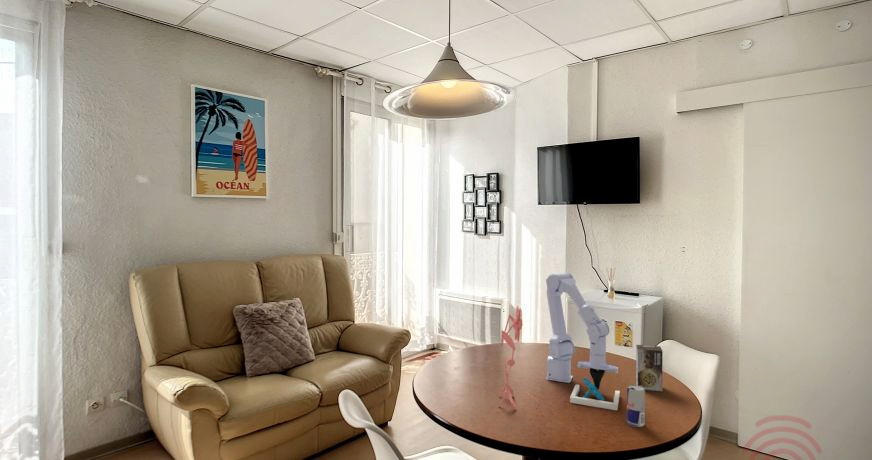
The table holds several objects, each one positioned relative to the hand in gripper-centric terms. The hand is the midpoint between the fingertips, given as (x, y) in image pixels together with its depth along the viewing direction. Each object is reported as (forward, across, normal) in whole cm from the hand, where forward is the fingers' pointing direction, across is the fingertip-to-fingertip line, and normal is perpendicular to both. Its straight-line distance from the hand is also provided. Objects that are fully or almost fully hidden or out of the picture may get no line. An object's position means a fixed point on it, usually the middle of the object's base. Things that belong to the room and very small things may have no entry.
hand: (597, 388), depth 175 cm
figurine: (+2, +24, +24) cm, 34 cm away
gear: (+2, 0, +7) cm, 7 cm away
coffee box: (+2, -18, -15) cm, 23 cm away
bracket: (+2, 0, +7) cm, 7 cm away
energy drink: (+2, -15, +22) cm, 27 cm away
